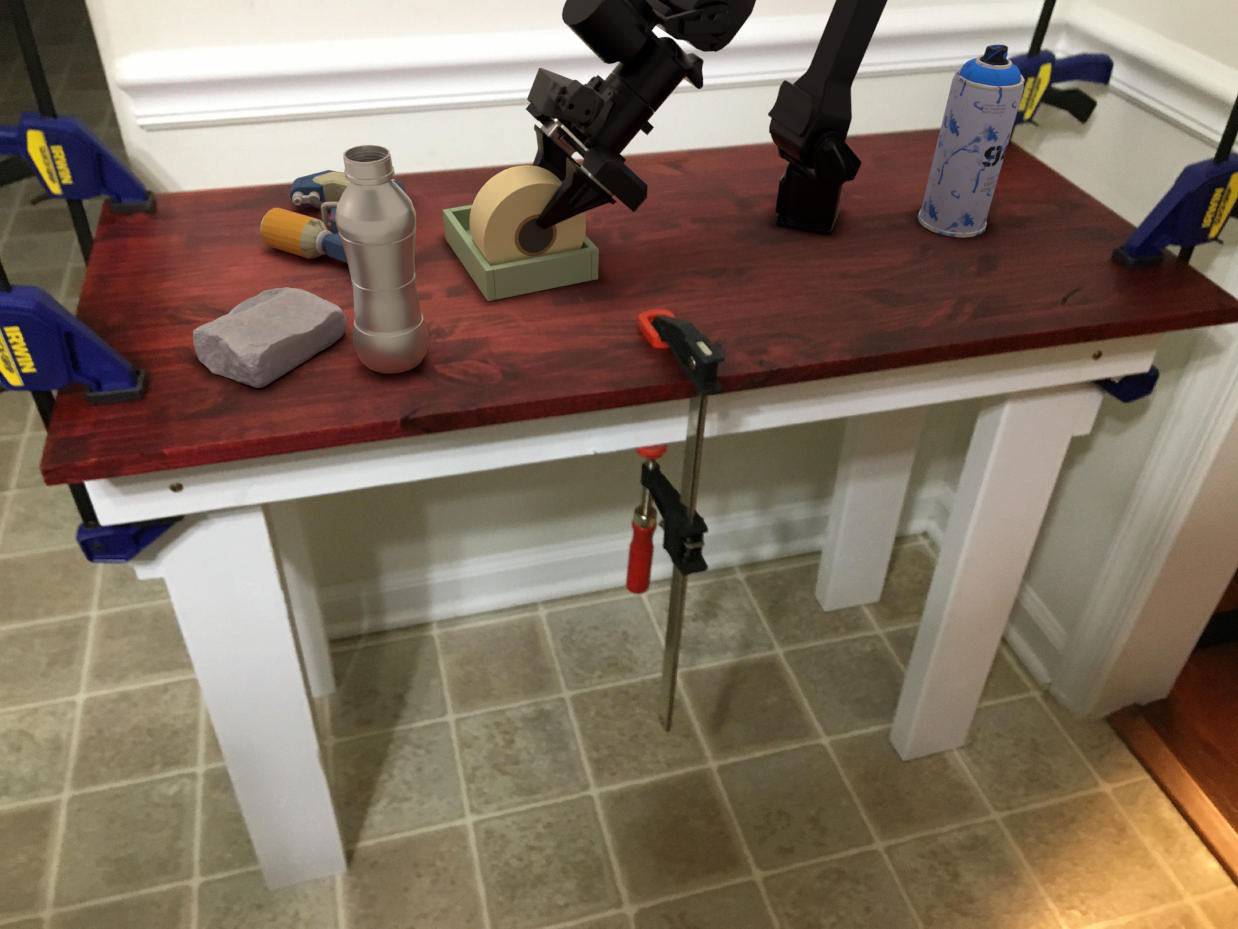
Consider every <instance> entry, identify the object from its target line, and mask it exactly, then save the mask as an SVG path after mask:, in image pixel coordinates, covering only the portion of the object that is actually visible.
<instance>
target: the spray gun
mask: <svg viewBox="0 0 1238 929" xmlns="http://www.w3.org/2000/svg"><path fill="white" fill-rule="evenodd" d="M392 180H393V181H394V182H395V183H396V184H397V185H398V186H399V187H400V188H401V189H402V190H403V191H404V192H405V193H406V188H405V185H404V184H402V183H401V182H400V181H399V180H396V179H395V178H392ZM349 183H350V182H349V181H348V180H347V179H346V178H345V173H344V172H343V171H338V170H337V171H336V170H332V169H327V170H322V171H319V172H315V173H311V174H308V175H303V176H299V177H297V178H295V179H294V180H293V181H292V185H291V189H290V192H289V197H290V200H291V202H292V204H294V205H296V206H298V207H301V208H302V207H314V208H315V209H317V210H320V212H321V218H322V220H321V219H318V218H316V217H313V216H308V215H305V214H302V213H298V212H295V211H291V210H288V209H284V208H281V207H273V208H271V209H270V210H268V211H267V212H266V213H265V214H264V216H263V217H262V220H261V222H260V229H259V230H260V235H261V238H262V241H263V243H264V244H265V245H266V246H268V247H270V248H273V249H276V250H280V251H283V252H286V253H289V254H293V255H295V256H299V257H302V258H305V259H309V260H312V259H317V258H318V257H321V256H323V255H324V256H328V257H330V258H331V259H335V260H336V261H340V262H343V263H345V264H347V265H348V262H347V257H346V254H345V251H344V248H343V245H342V241H341V238H340V235H339V231H338V229H337V224H336V220H335V215H336V209H337V205H338V203H339V200H340V198H341V196H342V194H343V192H344V191H345V189H346V188H347V186H348V184H349ZM406 194H407V193H406ZM328 213H330V215H328ZM328 228H329V229H330V230H331V231H330V230H329V229H328Z"/></svg>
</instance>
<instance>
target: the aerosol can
mask: <svg viewBox="0 0 1238 929" xmlns="http://www.w3.org/2000/svg"><path fill="white" fill-rule="evenodd" d="M1008 52H1009V47H1008V46H1007V45H1005V44H990V45H987V46H986V47H985V50H984V53H983V54H982V55H978V56H977V57H975V58H971V59H969V60H967V61H966V62H965V63H964V64H962V66H960V67H958V68H957V69H956V70H955V73H954V75H953V77H952V80H951V82H950V83H951V84H950V88H949V92H948V96H947V100H946V105H945V109H944V113H943V117H942V121H941V126H940V130H939V134H938V138H937V143H936V147H935V150H934V155H933V159H932V162H931V163H932V164H931V168H930V171H929V176H928V179H927V184H926V188H925V193H924V197H923V201H922V205H921V208H920V209H919V212H918V214H917V220H918V223H919V224H920V225H921V226H922V227H924V228H925V229H927V230H928V231H930V232H933V233H935V234H937V235H942V236H945V237H950V238H962V239H963V238H973V237H976V236H979V235H981V234H983V233H984V232H986V228H987V224H988V222H987V219H988V214H989V212H990V209H991V208H990V207H991V204H992V201H993V197H994V194H995V190H996V187H997V184H998V180H999V176H1000V174H1001V169H1002V166H1003V164H1004V160H1005V155H1006V152H1007V149H1008V146H1009V143H1010V142H1009V141H1010V139H1011V134H1012V131H1013V128H1014V125H1015V122H1016V118H1017V114H1018V112H1019V106H1020V103H1021V100H1022V96H1023V93H1024V89H1025V78H1024V76H1023V74H1022V73H1021V71H1020V69H1019V67H1018V66H1017V65H1016V64H1014V63H1013V61H1012V60H1011V59H1009V58H1008Z"/></svg>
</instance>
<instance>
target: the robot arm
mask: <svg viewBox="0 0 1238 929" xmlns="http://www.w3.org/2000/svg"><path fill="white" fill-rule="evenodd" d="M756 2H757V0H565V3H564V5H563V7H562V12H561V17H562V18H561V19H562V21H563V24H565V25H566V26H567V27H568V28H569V30H571V32H573V33H574V35H576V36H577V37H578V39H580V40H581V41H582V43H583V44H584V45H586V46H587V48H588V49H589V50H591V52H592V53H593V54H594V55H595V56H596V57H597V58H598V59H599V60H600V61H601V63H603V64H607V65H613V64H616V65H615V67H614V68H613V69H612V70H611V72H610V73H609V74H608V75H607V77H605V78H603V77H601V76H600V75H599V74H597V75H596V76H595V75H594V76H592V77H591V78H590V79H589V80H588V82H587V83H584V84H583V83H582V82H580V81H579V80H578V79H572V78H569V77H567V76H564V75H561V74H559V73H556V72H554V71H551V70H548V69H546V68H544V67H538V70H537V72H536V74H535V77H534V79H533V83H532V85H531V87H530V90H529V92H528V94H527V95H528V96H527V98H526V100H527V101H528V102H529V104H528V105H527V106H526V107H525V110H526V111H527V112H528V113H529V114H530V115H531V116H532V117H533V119H534V120H536V121H537V122H539V123H540V124H541V125H542V126H541V127H539V126H538V125H537V124H536V123H535V124H534V125H533V131H534V132H535V137H536V145H537V151H536V154H535V155H534V156H535V157H534V159H533V162H532V165H531V166H538V167H541V168H544V169H546V170H548V171H550V172H551V173H553V174H554V175H555V176H556V177H557V178H558V179H559V180H560V181H561V182H562V184H561V186H560V187H559V188H558V190H557V191H556V193H555V194H554V196H553V197H552V198H551V200H550V201H549V203H548V204H547V205H546V207H545V208H544V210H543V211H542V213H541V215H540V216H539V218H538V220H537V221H536V224H537V225H538V226H539V227H541V228H542V229H547V228H549V227H551V226H553V225H556V224H558V223H560V222H562V221H564V220H567V219H569V218H571V217H573V216H576V215H578V214H580V213H583V212H584V213H586V212H588V211H591V210H593V209H596V208H598V207H601V206H605V205H608V204H611V205H612V206H613V205H615V204H617V202H618V201H617V200H616V199H615V198H617V199H618V200H619V201H620V202H621V203H622V204H623V205H625V206H626V207H627V208H628V209H629V210H630V211H631V212H632V213H635V212H636V211H638V209H639V208H640V207H641V205H642V204H643V203H644V202H645V201H646V200H647V199H648V188H649V187H648V186H649V185H648V184H647V183H646V182H645V181H644V180H643V179H641V178H640V177H639V176H638V175H637V174H636V173H635V172H634V171H633V170H632V169H631V168H630V167H629V166H627V165H626V164H625V162H627V159H626V158H625V157H624V156H623V155H622V154H621V153H622V152H624V150H625V149H626V148H627V146H628V145H629V144H630V143H631V142H632V141H633V139H635V137H636V136H637V135H638V134H639V133H640V131H641V132H643V133H644V134H645V135H646V136H648V135H649V134H650V133H651V132H652V131H653V129H654V128H655V127H654V126H653V125H652V123H650V122H649V120H650V119H651V118H652V117H653V116H654V114H656V113H657V111H658V110H659V109H660V108H661V106H662V105H663V104H664V103H665V102H666V100H667V99H668V98H669V97H670V96H671V94H672V93H673V92H674V91H675V90H676V89H677V88H678V86H680V84H681V83H682V82H683V80H685V81H686V82H687V83H689V84H690V85H692V86H693V87H694V88H695V89H698V90H702V88H704V73H703V66H704V63H705V62H704V59H703V58H702V57H700V56H699V55H698V54H696V53H694V52H690V53H686V52H685V50H683V48H682V47H681V46H680V44H678V43H677V41H684V42H686V43H687V44H688V45H691V47H693V48H695V49H696V50H699V51H701V52H704V53H710V52H711V53H712V52H715V53H717V52H719V51H721V50H723V49H724V48H725V47H727V46H728V45H729V44H730V43H731V42H732V41H733V40H734V38H736V36H737V35H738V33H739V32H740V30H741V29H742V28H743V26H744V25H745V23H746V22H748V19H749V18H750V16H751V15H752V13H753V11H754V8H755V6H756ZM887 3H888V0H835V2H834V4H833V7H832V9H831V11H830V13H829V17H828V19H827V22H826V24H825V26H824V29H823V32H822V34H821V37H820V39H819V41H818V44H817V47H816V49H815V52H814V55H813V57H812V59H811V62H810V64H809V66H808V68H807V70H806V71H805V72H804V73H803V74H802V75H801V76H800V77H799V78H797V80H796V81H794V83H792V82H790V81H789V80H786V79H785V80H783V81H782V83H781V84H780V86H779V89H778V92H777V93H778V94H777V96H776V99H775V102H774V104H773V105H772V108H771V109H770V110H769V112H768V113H767V116H768V117H770V122H769V126H768V133H769V134H770V136H771V141H772V143H774V144H775V146H776V147H777V152H778V156H779V158H781V159H782V160H785V161H786V162H788V164H787V167H786V170H785V171H784V172H783V174H782V176H781V177H780V179H779V182H778V190H777V196H776V201H775V202H776V204H775V214H777V217H776V218H775V225H777V226H781V227H786V228H792V229H797V230H803V231H808V232H813V233H818V234H824V235H830V234H832V233H833V230H834V227H835V226H836V222H837V220H838V218H839V215H840V212H841V208H840V207H839V206H840V201H841V196H842V189H843V185H844V184H845V183H846V182H851V181H854V180H855V178H856V176H857V174H858V172H859V170H860V168H861V166H862V160H860V158H859V157H858V155H857V154H856V153H855V152H854V151H853V149H852V148H851V147H850V146H849V145H848V144H847V142H846V141H847V137H848V134H849V131H850V127H851V123H852V119H853V110H852V109H853V108H852V106H853V105H852V88H853V83H854V81H855V79H856V77H857V74H858V72H859V69H860V67H861V65H862V62H863V60H864V57H865V55H866V53H867V50H868V48H869V45H870V43H871V41H872V39H873V36H874V33H875V32H876V29H877V27H878V24H879V22H880V19H881V17H882V15H883V13H884V10H885V8H886V5H887ZM655 27H657V28H658V29H660V30H661V31H663V32H664V33H666V34H667V35H669V36H660V37H658V35H657V34H656V33H655V32H654V31H653V30H654V29H655ZM676 40H677V41H676ZM575 153H577V154H578V155H579V156H581V158H582V159H583V161H582V164H580V162H578V161H577V160H576V159H575V158H574V157H573V155H574V154H575Z"/></svg>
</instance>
